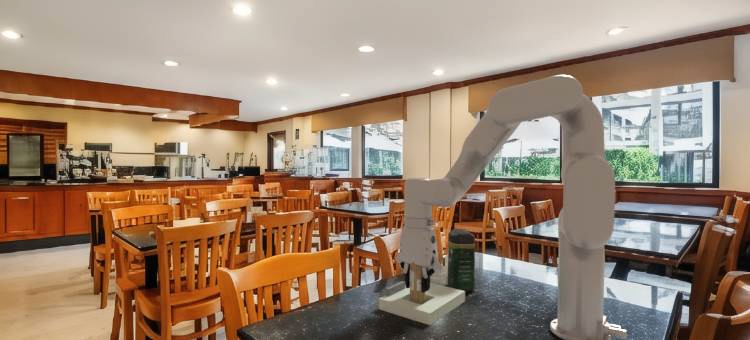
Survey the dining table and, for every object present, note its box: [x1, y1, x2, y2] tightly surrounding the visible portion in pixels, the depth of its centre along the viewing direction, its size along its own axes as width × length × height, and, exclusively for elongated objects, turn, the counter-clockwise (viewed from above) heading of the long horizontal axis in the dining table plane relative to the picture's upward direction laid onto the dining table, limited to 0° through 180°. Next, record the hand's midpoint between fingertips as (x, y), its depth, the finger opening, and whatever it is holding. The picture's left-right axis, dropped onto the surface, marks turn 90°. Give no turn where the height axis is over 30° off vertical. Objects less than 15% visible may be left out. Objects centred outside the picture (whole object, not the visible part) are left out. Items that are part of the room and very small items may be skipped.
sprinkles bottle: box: [409, 258, 426, 304], centre depth 104 cm, size 5×5×13 cm
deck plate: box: [378, 280, 466, 326], centre depth 107 cm, size 16×20×5 cm
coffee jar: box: [447, 228, 476, 293], centre depth 121 cm, size 10×8×19 cm
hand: (417, 288), depth 104 cm, fingers closed on sprinkles bottle, 4 cm apart
